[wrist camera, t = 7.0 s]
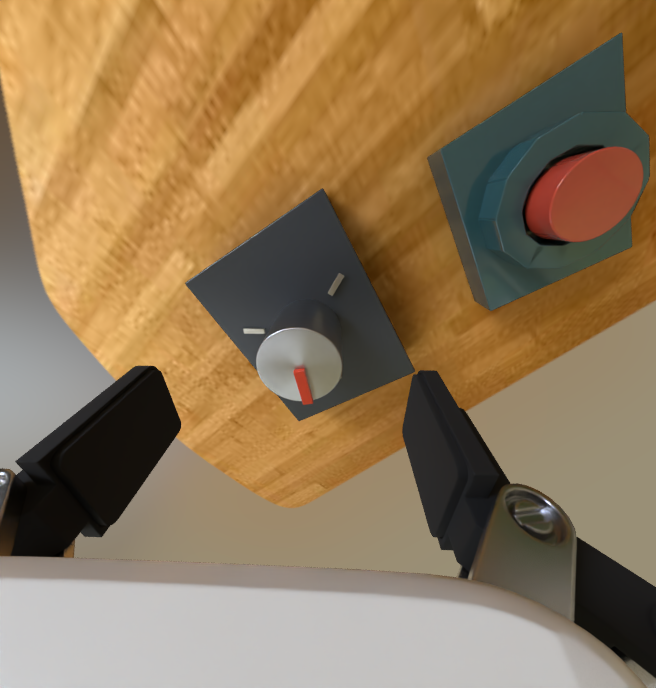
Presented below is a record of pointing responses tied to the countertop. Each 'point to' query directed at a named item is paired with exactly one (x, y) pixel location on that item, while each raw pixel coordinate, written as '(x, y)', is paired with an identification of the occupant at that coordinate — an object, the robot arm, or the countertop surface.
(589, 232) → the button
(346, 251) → the plate
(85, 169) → the countertop surface
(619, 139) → the teal button housing
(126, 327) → the countertop surface
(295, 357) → the rotary knob
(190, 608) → the robot arm
